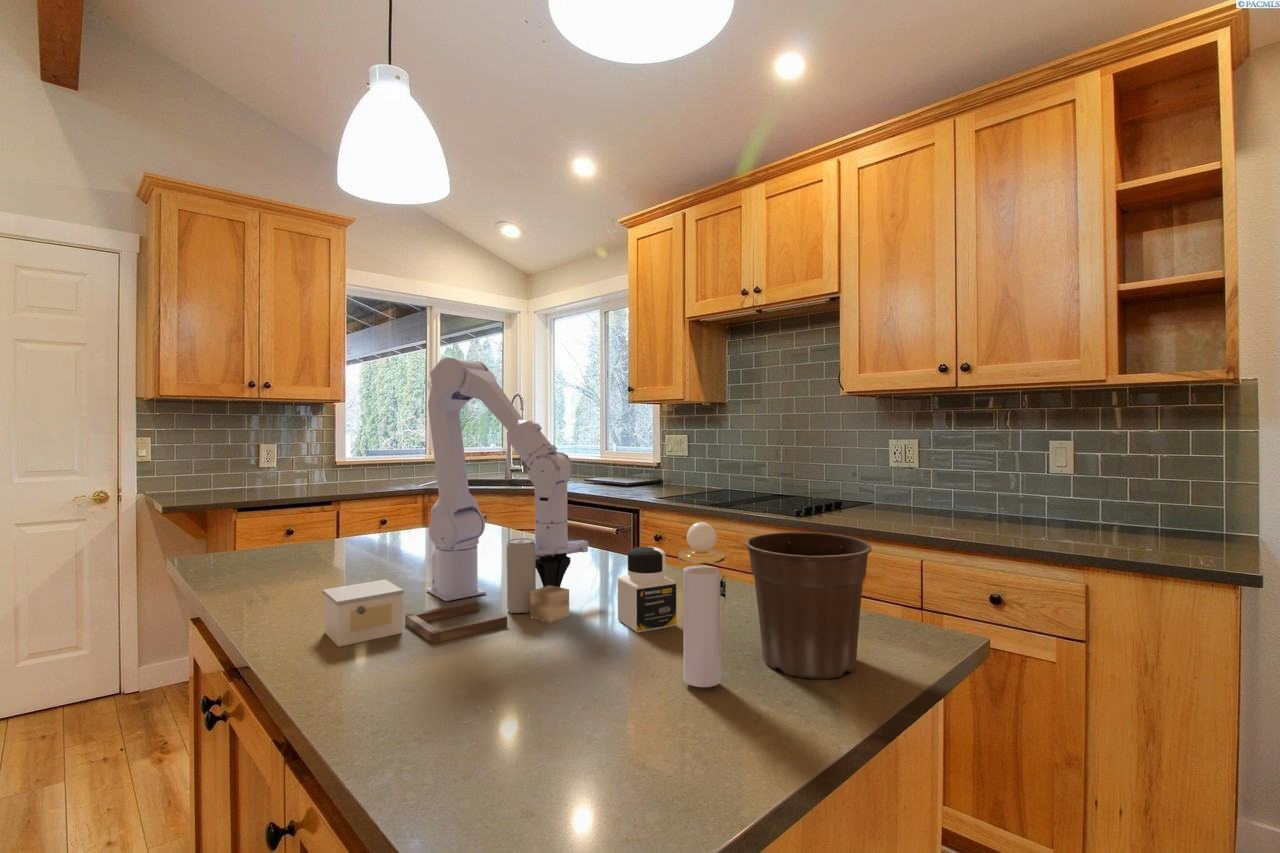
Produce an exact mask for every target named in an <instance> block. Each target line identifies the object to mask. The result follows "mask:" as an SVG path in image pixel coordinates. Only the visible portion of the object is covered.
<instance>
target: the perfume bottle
mask: <svg viewBox="0 0 1280 853" xmlns="http://www.w3.org/2000/svg"><path fill="white" fill-rule="evenodd" d="M716 532H717V531H716V529H715V528H714V527H713V526H712V525H711V524H709V523H708V522H704V521H698V522H695V523H693V524H692V525H691V526H690V527H689V529H688V531H687V534H686V541H687V544H688V546H689V547H690V548H689V549H684V550H679V551H678V553H677V559H678V560H679V561H682V562H684V563H689V564H706V565H691V566H686V567H684V568H683V569H682V570H683V571H682V584H683V585H682V586H683V587H682V593H683V594H682V598H683V599H682V600H683V601H682V604H683V605H682V608H683V609H682V615H683V617H682V620H683V621H682V625H683V627H682V630H683V631H682V632H683V633H682V634H683V637H682V638H683V640H682V642H683V645H682V646H683V647H682V648H683V654H682V656H683V660H682V661H683V666H682V668H683V672H682V673H683V682H685V684H688V685H690V686H692V687H698V688H711V687H714V686H718V685H719V684H720V683H721V682H722V677H721V676H722V673H721V671H722V669H721V667H722V665H721V660H722V659H721V657H722V656H721V655H722V654H721V653H722V652H721V650H722V649H721V645H722V644H721V641H722V640H721V636H722V635H721V632H722V631H721V629H722V628H721V625H722V623H721V618H722V617H721V615H722V614H721V612H722V611H721V606H722V605H721V597H723V598H724V602H726V601H727V600H726V597H727V596H726V585H727V584H726V581H725V580H726V578H725V574H724V575H723V576H722V578H721V569H720V568H719V567H715V566H712V565H711V566H710V565H707V564H716V563H722V562H725V560H726V552H724V551H722V550H718V549H713V548H714V547H715V545H716V543H717V533H716ZM724 605H725V606H726V604H724Z"/></svg>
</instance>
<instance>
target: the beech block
mask: <svg viewBox="0 0 1280 853" xmlns="http://www.w3.org/2000/svg"><path fill="white" fill-rule="evenodd" d="M530 597H531V612H530V618H531V617H533V618H537V619H540V620H539V621H541V620H544V621H543V622H545V621H548V622H547V623H549V622H552V623H554V622H556V621H555V620H557V621H559V620H562V619H564V618H563V617H565V618H566V616H567V617H569V616H570V589H569V588H565V587H561V586H560V587H556V586H551V585H548V586H545V587H543V586H542V587H538V588H537V589H536V590H533V591H530ZM568 615H569V616H568ZM533 618H532V619H533ZM561 618H562V619H561ZM537 619H536V620H537ZM558 619H559V620H558ZM553 621H554V622H553Z"/></svg>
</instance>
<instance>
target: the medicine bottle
mask: <svg viewBox="0 0 1280 853" xmlns="http://www.w3.org/2000/svg"><path fill="white" fill-rule="evenodd" d="M665 575H666V552H665V550H663V549H661V548H659V547H654V546H637V547H634V548H632V549H630V550H629V551H628V552H627V575H624V576H619V577H617V621H619V622H621V623H622V624H624V625H625V626H627V627H628V628H630V629H631V630H633V631H634V632H636V633H637V634H638V633H639V634H640V633H644V632H650V631H654V630H655V631H656V630H660V629H667V628H671V627H675V626H677V581H675V580H674V579H671V578H669V577H667V576H665Z"/></svg>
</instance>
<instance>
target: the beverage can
mask: <svg viewBox="0 0 1280 853" xmlns="http://www.w3.org/2000/svg"><path fill="white" fill-rule="evenodd" d="M507 543H508V544H507V545H506V576H507V577H506V579H507V580H506V581H507V582H506V586H507V587H506V590H507V592H506V595H507V598H506V599H507V600H506V601H507V602H506V603H507V610H508V612H509V613H510V612H512V613H511V614H513V613H526V614H528V613H527V612H529V613H531V597H530V591H533V590H536V584H537V583H536V580H537V579H536V577H537V576H536V570H537V569H536V567H535V538H534V539H533V538H528V537H527V538H525V537H523V538H521V537H519V538H512V539H509V540H508V541H507Z"/></svg>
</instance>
